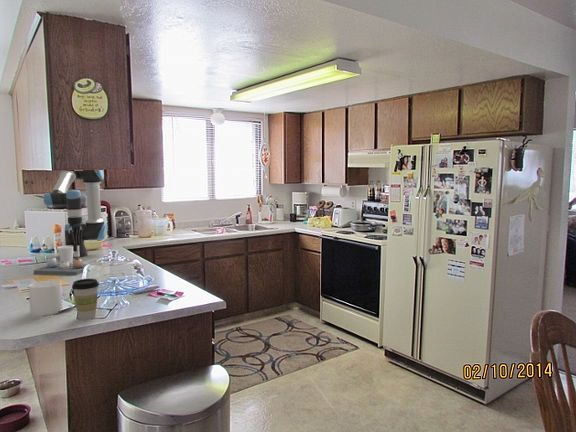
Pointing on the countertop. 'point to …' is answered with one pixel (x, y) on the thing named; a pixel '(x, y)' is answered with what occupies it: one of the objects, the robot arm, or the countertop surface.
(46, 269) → the console
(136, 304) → the countertop surface
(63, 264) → the button two
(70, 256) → the cup
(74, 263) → the button three
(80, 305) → the coffee cup
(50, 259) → the button one
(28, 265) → the countertop surface
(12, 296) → the countertop surface
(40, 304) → the cup
